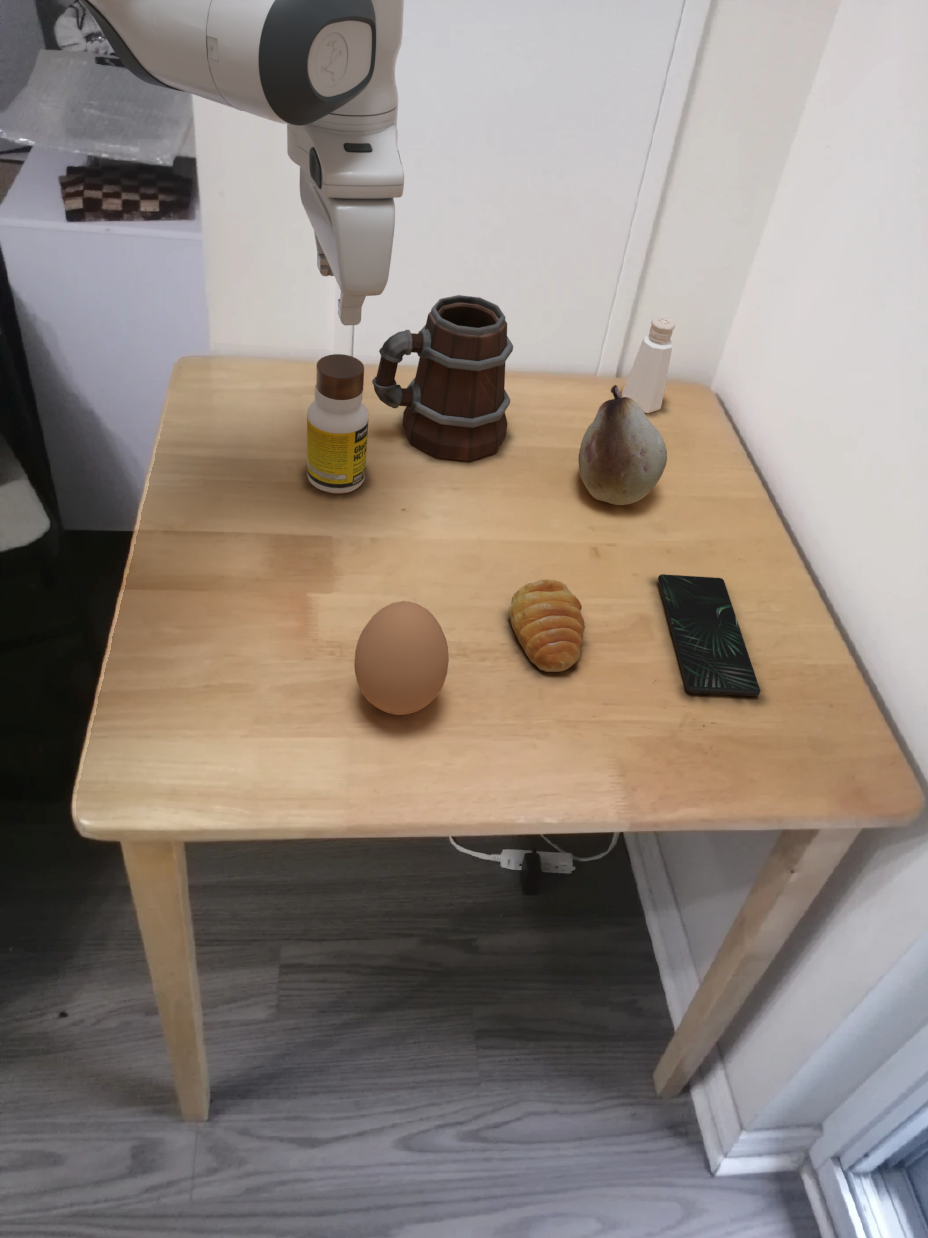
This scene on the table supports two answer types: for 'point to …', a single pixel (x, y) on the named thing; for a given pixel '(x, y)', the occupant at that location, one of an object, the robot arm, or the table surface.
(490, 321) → the mug
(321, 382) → the brown bottle cap
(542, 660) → the pastry
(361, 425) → the pill bottle
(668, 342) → the pepper shaker
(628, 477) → the fruit
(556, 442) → the table surface
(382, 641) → the egg
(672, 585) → the smartphone
